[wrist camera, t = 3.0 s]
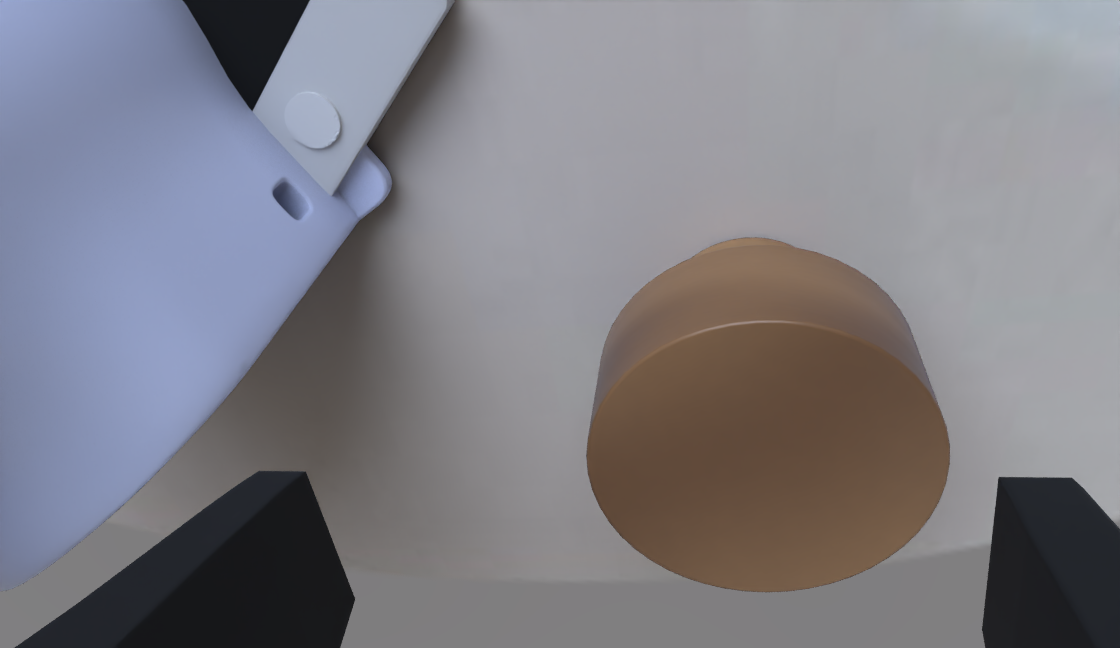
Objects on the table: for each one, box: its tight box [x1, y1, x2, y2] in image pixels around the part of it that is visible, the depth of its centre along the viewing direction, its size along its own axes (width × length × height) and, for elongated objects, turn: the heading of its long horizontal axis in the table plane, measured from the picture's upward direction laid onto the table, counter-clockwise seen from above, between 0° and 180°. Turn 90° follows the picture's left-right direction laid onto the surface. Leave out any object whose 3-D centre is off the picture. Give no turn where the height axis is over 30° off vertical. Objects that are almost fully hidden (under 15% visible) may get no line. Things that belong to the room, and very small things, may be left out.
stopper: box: [586, 238, 950, 592], centre depth 17 cm, size 6×6×5 cm
